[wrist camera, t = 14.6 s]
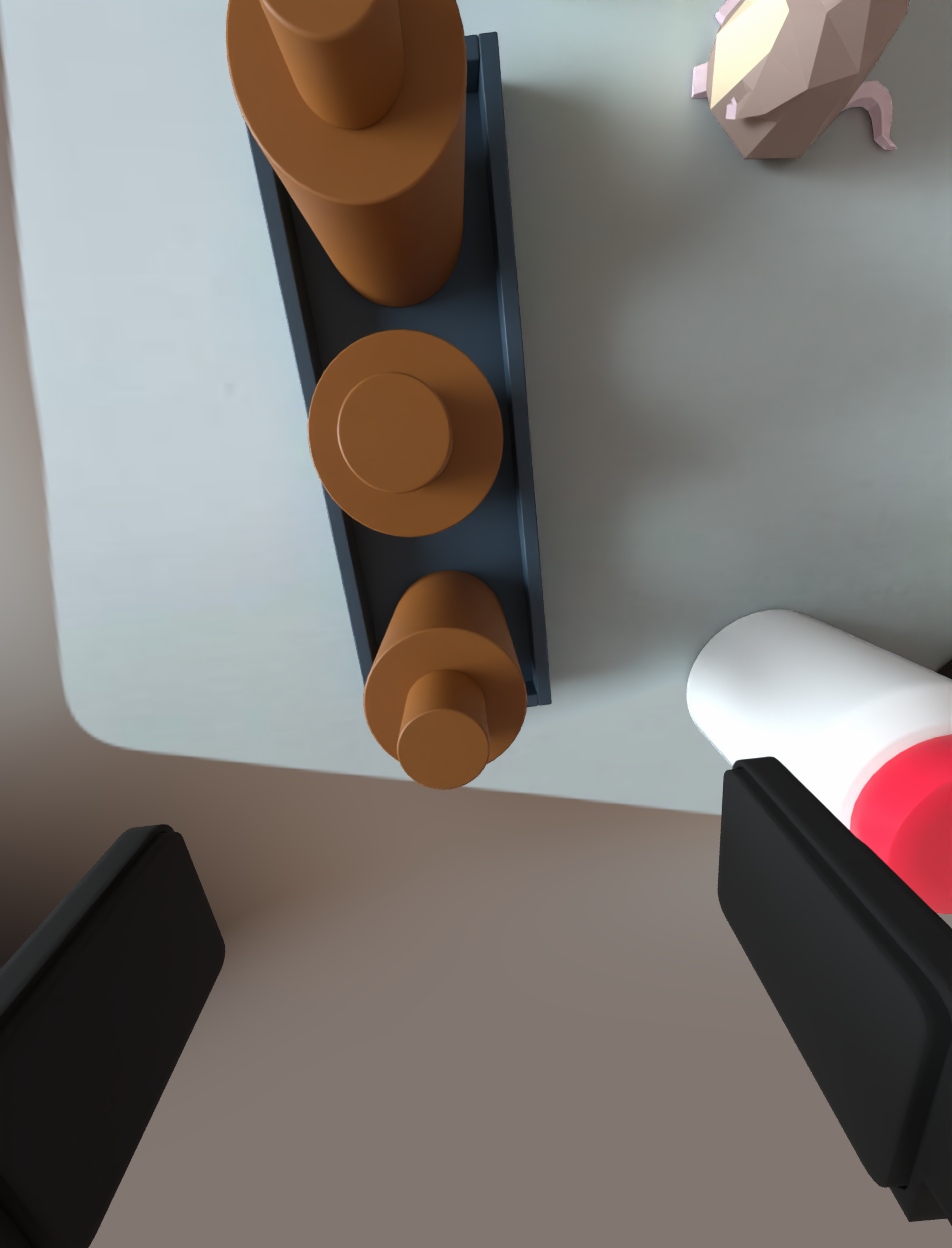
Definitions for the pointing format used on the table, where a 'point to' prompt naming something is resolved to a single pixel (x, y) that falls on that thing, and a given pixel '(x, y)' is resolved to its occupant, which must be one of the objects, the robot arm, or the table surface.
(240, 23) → the tray bottle
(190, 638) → the table surface
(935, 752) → the pill bottle
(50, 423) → the table surface
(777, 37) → the mouse figurine
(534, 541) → the tray
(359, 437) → the tray bottle
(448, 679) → the amber bottle
